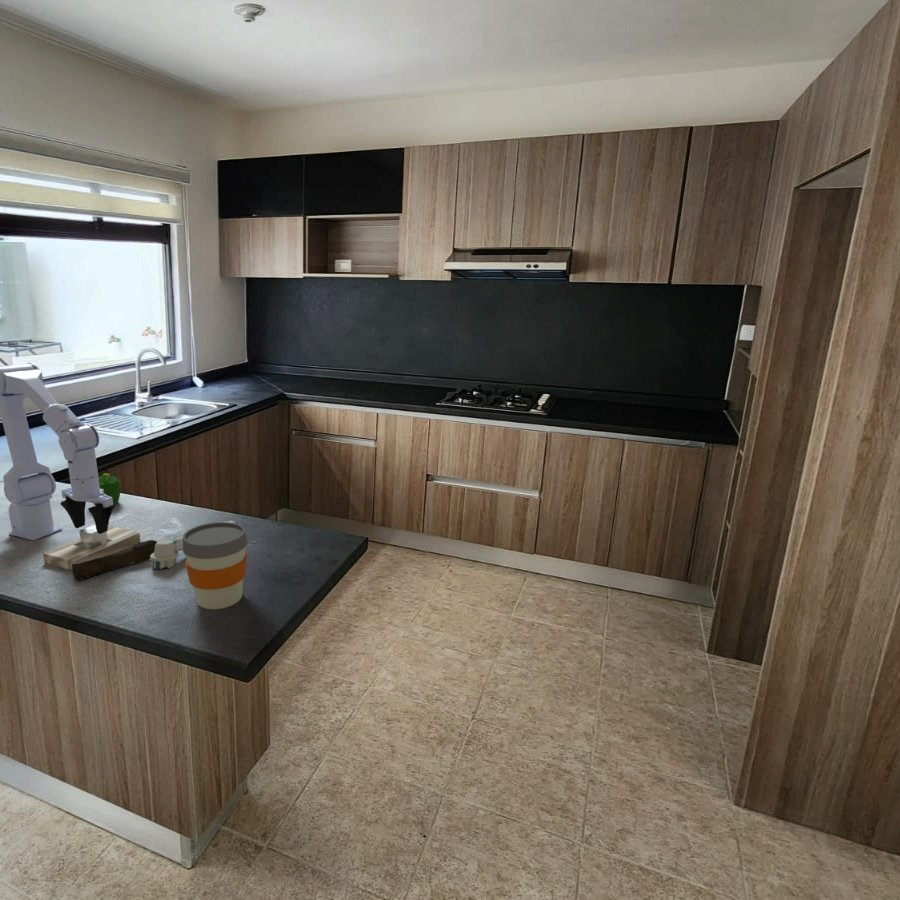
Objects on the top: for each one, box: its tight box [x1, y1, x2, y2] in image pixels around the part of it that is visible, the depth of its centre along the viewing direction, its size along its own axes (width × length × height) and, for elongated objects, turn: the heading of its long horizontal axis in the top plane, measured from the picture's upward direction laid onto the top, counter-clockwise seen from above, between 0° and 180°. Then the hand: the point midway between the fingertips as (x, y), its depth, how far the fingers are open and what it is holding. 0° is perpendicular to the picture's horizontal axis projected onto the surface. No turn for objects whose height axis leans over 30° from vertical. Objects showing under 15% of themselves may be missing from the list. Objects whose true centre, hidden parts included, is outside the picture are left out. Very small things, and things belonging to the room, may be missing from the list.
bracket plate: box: [42, 526, 141, 571], centre depth 146 cm, size 10×18×2 cm, turn 159°
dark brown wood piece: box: [71, 539, 158, 582], centre depth 138 cm, size 19×4×5 cm, turn 135°
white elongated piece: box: [150, 519, 239, 570], centre depth 148 cm, size 5×7×25 cm
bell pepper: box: [92, 472, 122, 506], centre depth 175 cm, size 8×8×10 cm
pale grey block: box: [78, 524, 108, 549], centre depth 146 cm, size 4×4×6 cm
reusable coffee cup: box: [182, 521, 248, 610], centre depth 125 cm, size 12×13×15 cm
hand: (91, 529), depth 144 cm, fingers open, 7 cm apart
